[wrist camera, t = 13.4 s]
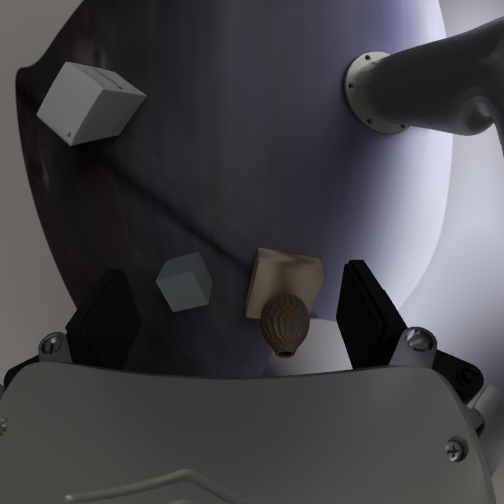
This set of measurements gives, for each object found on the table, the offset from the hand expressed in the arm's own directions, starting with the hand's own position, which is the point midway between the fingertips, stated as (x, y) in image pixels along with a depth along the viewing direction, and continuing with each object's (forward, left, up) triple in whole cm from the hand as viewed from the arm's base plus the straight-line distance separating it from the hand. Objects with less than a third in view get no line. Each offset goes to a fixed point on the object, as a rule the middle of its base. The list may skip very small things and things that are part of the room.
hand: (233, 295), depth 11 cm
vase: (-5, +18, -23) cm, 30 cm away
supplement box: (+18, -12, -28) cm, 36 cm away
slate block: (+10, +16, -28) cm, 34 cm away
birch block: (-5, +18, -29) cm, 34 cm away
